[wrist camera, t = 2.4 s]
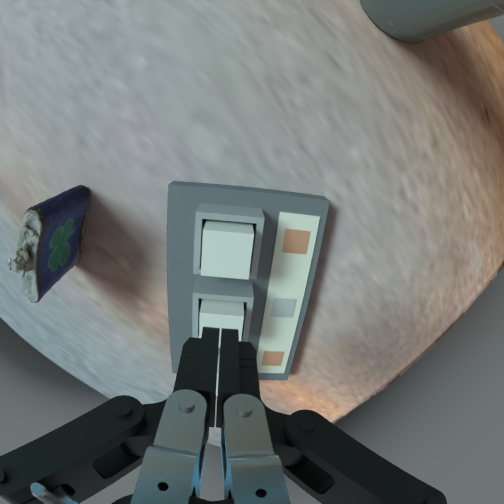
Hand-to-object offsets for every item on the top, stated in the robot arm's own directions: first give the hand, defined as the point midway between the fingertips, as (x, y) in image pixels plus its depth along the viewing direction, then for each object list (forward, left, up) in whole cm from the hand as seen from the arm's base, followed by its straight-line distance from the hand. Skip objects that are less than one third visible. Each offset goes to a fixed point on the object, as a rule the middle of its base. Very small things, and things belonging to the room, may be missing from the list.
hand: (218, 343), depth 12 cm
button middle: (+7, 0, -13) cm, 15 cm away
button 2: (0, 0, -13) cm, 13 cm away
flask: (+1, -16, -17) cm, 23 cm away
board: (+7, +2, -16) cm, 18 cm away
